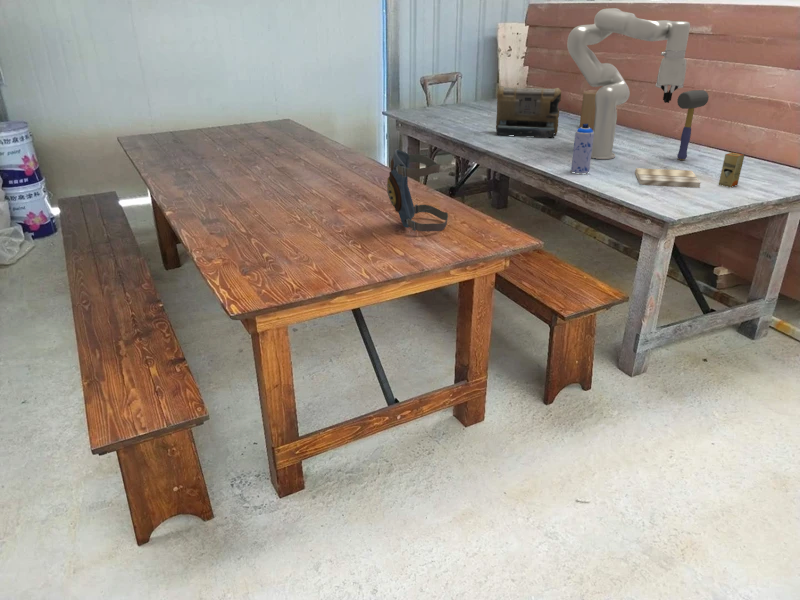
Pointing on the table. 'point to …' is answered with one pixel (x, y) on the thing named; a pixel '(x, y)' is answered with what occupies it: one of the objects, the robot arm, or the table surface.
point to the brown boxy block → (527, 111)
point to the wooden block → (588, 108)
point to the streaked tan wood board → (669, 180)
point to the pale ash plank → (664, 172)
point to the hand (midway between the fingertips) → (666, 102)
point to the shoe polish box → (731, 169)
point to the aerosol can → (582, 149)
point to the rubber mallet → (689, 115)
